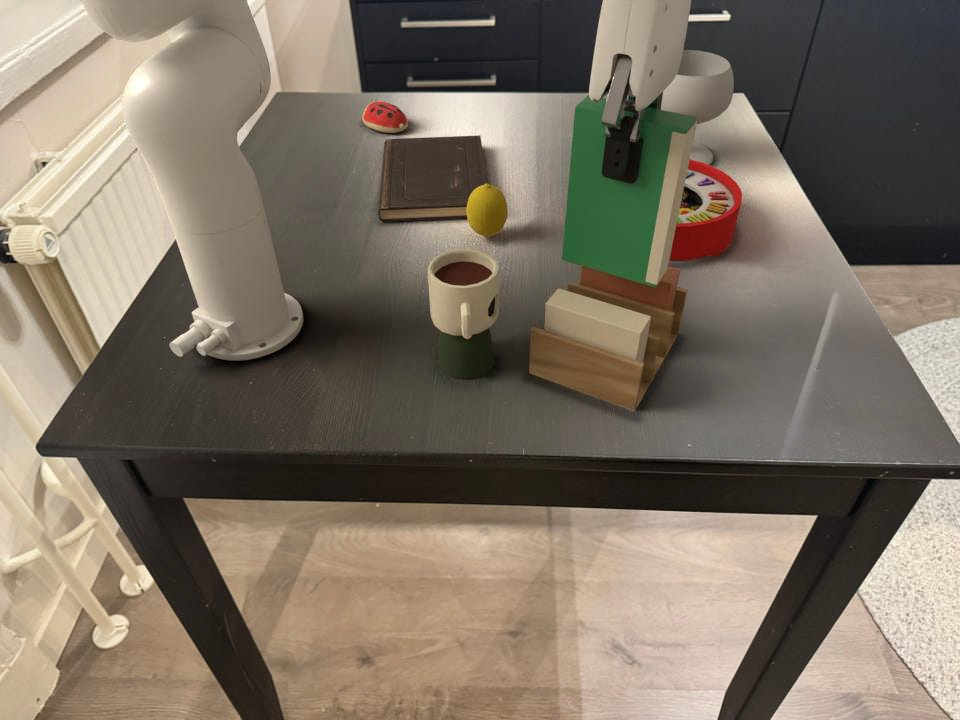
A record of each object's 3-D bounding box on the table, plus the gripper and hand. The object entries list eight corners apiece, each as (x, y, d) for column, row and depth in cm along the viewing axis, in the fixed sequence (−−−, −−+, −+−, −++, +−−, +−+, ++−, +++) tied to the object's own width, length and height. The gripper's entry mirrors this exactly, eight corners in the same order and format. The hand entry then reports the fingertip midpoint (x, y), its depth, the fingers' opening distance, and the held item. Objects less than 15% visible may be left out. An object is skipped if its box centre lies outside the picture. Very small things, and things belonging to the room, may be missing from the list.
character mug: (503, 397, 76) (504, 297, 68) (435, 401, 76) (428, 301, 68) (494, 332, 85) (494, 236, 76) (433, 336, 84) (426, 239, 76)
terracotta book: (658, 350, 81) (671, 283, 75) (576, 323, 84) (582, 258, 78) (667, 335, 83) (680, 269, 77) (586, 309, 86) (592, 245, 80)
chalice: (636, 134, 125) (648, 44, 115) (719, 143, 122) (739, 50, 112) (626, 170, 115) (638, 75, 105) (717, 181, 112) (738, 83, 102)
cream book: (629, 401, 75) (640, 333, 69) (541, 369, 78) (545, 303, 72) (639, 383, 77) (651, 316, 71) (553, 354, 80) (558, 287, 74)
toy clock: (759, 226, 90) (598, 225, 91) (748, 266, 94) (594, 265, 95) (724, 155, 105) (586, 155, 106) (716, 191, 109) (582, 191, 110)
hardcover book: (480, 148, 122) (480, 135, 120) (490, 217, 104) (490, 203, 103) (385, 152, 121) (383, 139, 120) (379, 222, 104) (377, 208, 102)
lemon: (503, 249, 98) (503, 196, 93) (463, 245, 99) (461, 192, 94) (510, 228, 102) (511, 176, 97) (471, 224, 103) (470, 173, 98)
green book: (656, 288, 70) (687, 130, 60) (561, 260, 74) (574, 106, 63) (666, 272, 72) (698, 116, 62) (573, 245, 76) (588, 94, 65)
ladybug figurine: (381, 113, 133) (379, 93, 131) (419, 127, 128) (417, 107, 126) (353, 124, 130) (350, 105, 127) (391, 140, 125) (389, 119, 122)
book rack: (633, 416, 74) (642, 366, 70) (528, 378, 79) (530, 329, 74) (677, 337, 83) (688, 289, 79) (581, 307, 88) (586, 260, 84)
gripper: (648, -82, 61) (620, 129, 73) (568, -40, 50) (551, 199, 62) (737, -72, 58) (693, 145, 70) (673, -26, 47) (633, 221, 59)
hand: (626, 168), depth 66 cm, fingers closed on green book, 3 cm apart
